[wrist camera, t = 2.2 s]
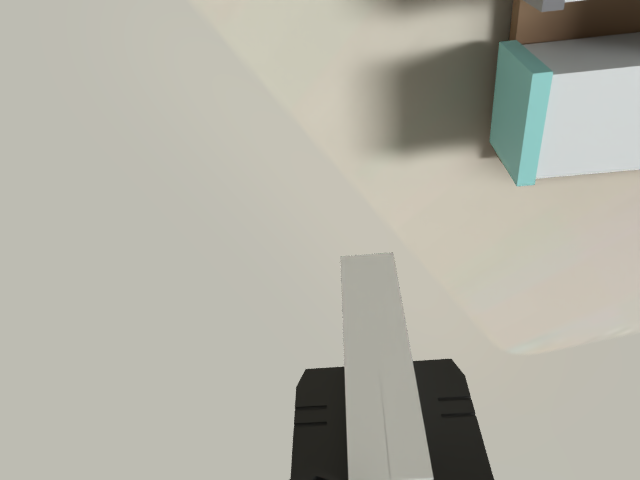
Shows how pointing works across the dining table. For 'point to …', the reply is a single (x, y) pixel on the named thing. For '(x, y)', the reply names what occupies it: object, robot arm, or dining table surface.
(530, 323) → the dining table surface
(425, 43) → the dining table surface
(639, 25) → the key console
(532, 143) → the teal key
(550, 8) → the charcoal key
